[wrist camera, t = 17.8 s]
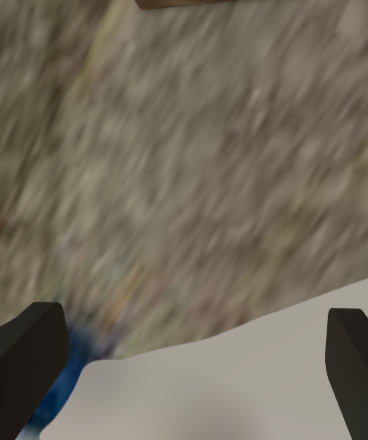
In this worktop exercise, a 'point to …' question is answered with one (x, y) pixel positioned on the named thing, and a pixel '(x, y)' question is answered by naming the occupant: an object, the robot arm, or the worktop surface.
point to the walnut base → (170, 3)
